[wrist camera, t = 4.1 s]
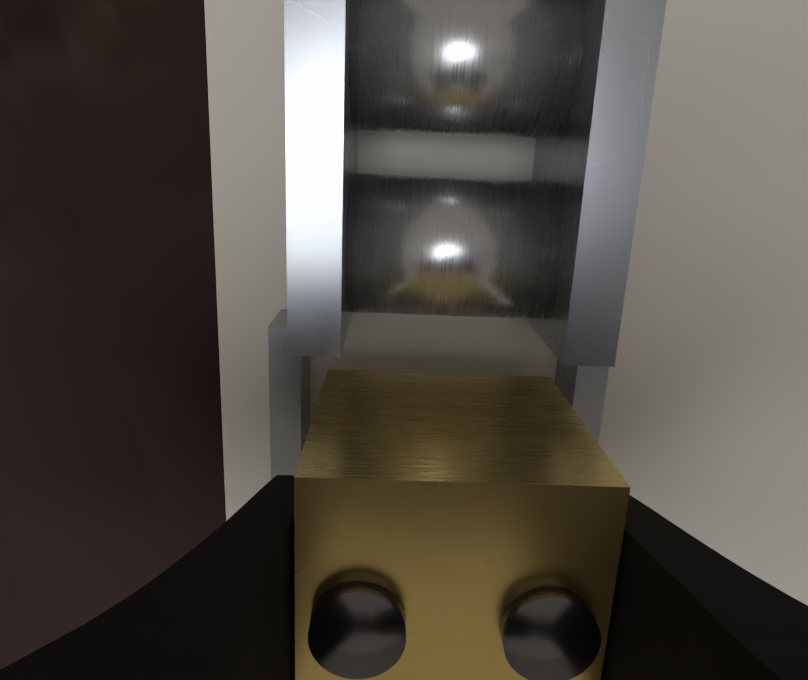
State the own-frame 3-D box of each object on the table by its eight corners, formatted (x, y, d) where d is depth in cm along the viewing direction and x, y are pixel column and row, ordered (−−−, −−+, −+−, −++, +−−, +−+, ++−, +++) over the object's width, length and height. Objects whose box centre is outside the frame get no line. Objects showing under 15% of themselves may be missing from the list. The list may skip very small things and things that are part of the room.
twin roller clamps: (633, -9, 11) (732, -78, 8) (535, 746, 16) (572, 900, 13) (276, -28, 11) (226, -106, 8) (286, 741, 16) (258, 895, 13)
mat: (963, -4, 12) (977, -7, 12) (767, 748, 17) (774, 758, 17) (206, -42, 11) (202, -48, 11) (238, 737, 16) (235, 748, 16)
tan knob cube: (529, 568, 12) (596, 771, 8) (325, 563, 12) (291, 765, 8) (549, 376, 11) (639, 500, 7) (327, 369, 11) (290, 490, 7)
